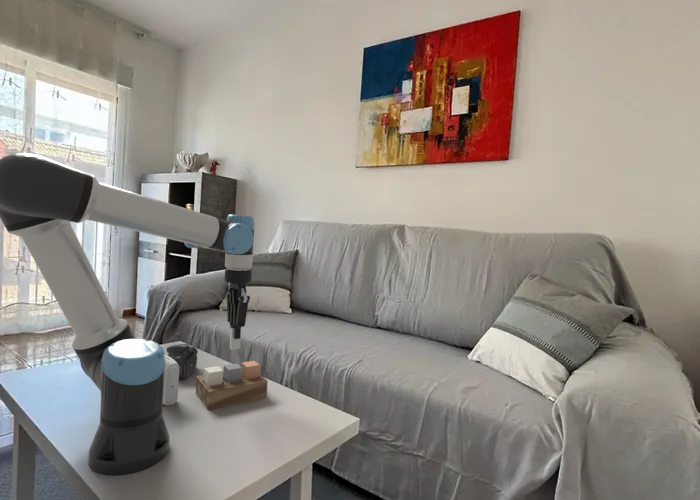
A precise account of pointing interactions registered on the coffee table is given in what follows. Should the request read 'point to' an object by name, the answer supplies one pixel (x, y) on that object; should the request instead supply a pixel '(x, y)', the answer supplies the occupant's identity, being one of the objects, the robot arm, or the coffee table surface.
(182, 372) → the camera
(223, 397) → the wooden block tray
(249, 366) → the terracotta key
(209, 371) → the cream short block
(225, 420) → the coffee table surface
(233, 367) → the slate key
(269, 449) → the coffee table surface
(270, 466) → the coffee table surface
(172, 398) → the photo printer
